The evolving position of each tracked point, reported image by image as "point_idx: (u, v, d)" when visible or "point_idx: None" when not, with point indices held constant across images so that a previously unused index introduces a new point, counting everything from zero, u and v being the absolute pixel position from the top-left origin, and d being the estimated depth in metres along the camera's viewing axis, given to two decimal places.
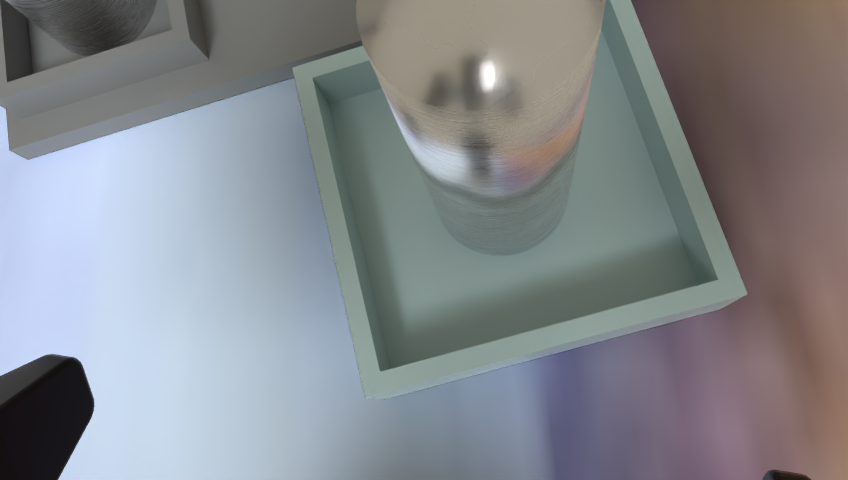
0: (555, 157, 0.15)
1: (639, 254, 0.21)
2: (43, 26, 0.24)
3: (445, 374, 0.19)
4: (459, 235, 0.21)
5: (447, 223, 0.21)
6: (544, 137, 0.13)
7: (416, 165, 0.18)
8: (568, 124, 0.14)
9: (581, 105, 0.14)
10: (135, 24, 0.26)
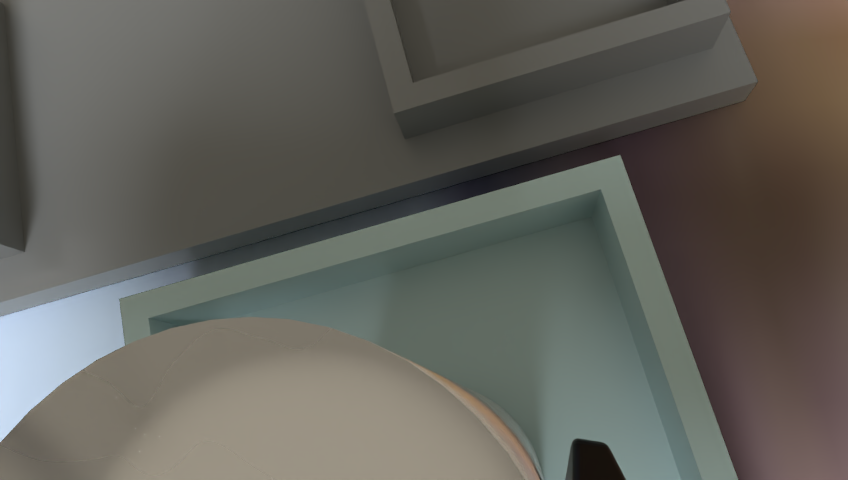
0: None
1: None
2: None
3: None
4: None
5: None
6: None
7: None
8: None
9: None
10: None
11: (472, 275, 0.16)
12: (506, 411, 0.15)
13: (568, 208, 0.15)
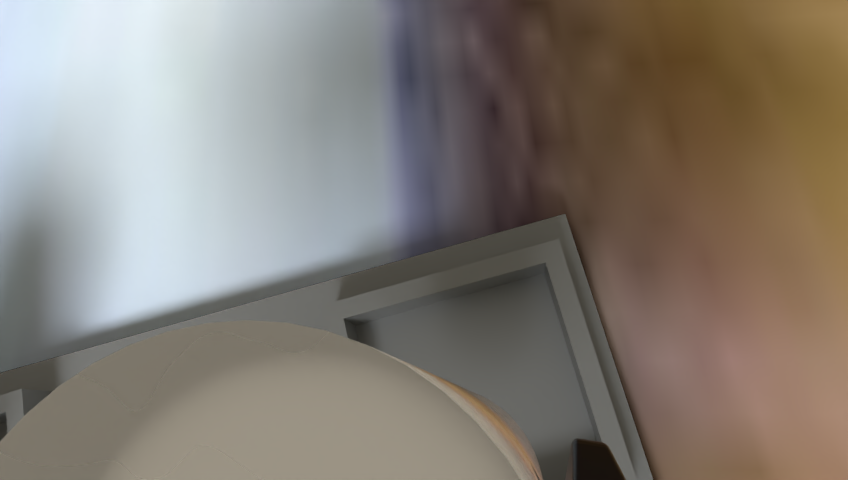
0: None
1: None
2: None
3: None
4: None
5: None
6: None
7: None
8: None
9: None
10: None
11: None
12: None
13: None
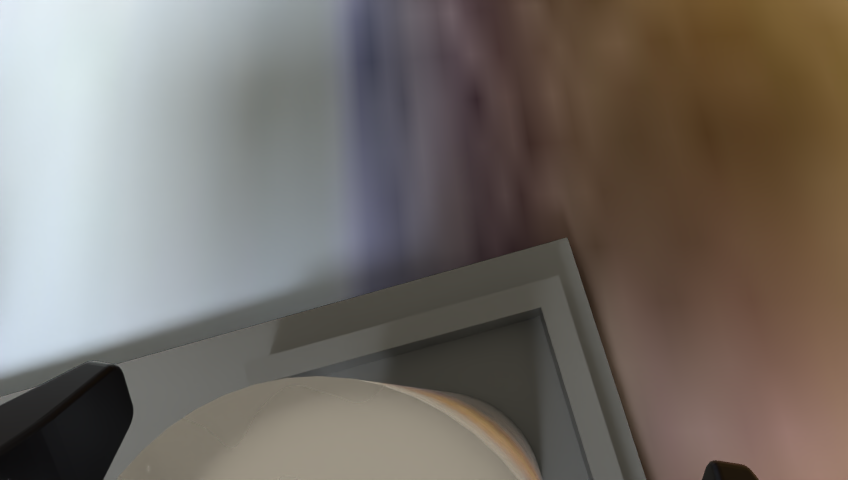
0: None
1: None
2: None
3: None
4: None
5: None
6: None
7: None
8: None
9: None
10: None
11: None
12: None
13: None
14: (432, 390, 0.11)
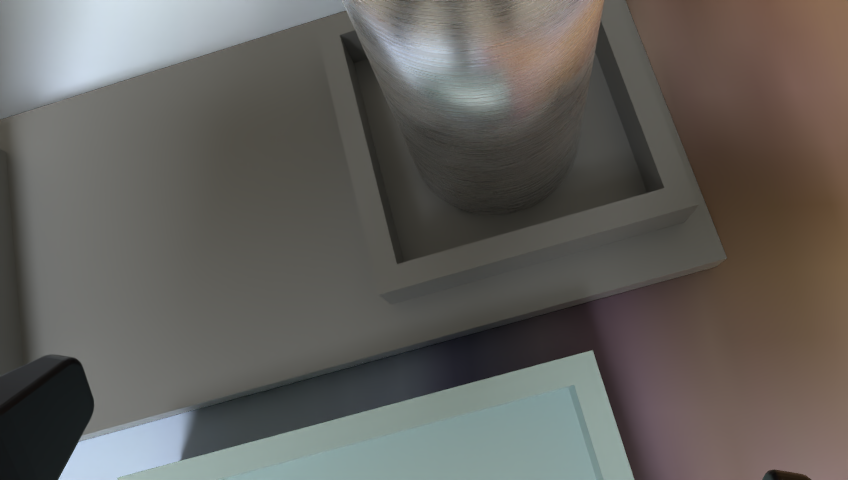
0: (565, 45, 0.11)
1: None
2: None
3: None
4: (440, 187, 0.17)
5: (425, 170, 0.16)
6: None
7: (377, 79, 0.13)
8: None
9: None
10: None
11: (454, 443, 0.17)
12: None
13: (544, 393, 0.15)
14: None
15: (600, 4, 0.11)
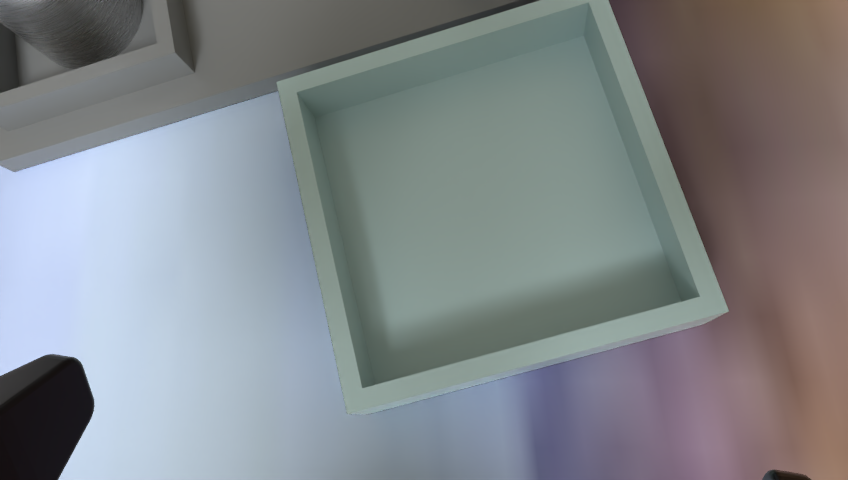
0: None
1: (623, 269, 0.21)
2: (28, 40, 0.24)
3: (427, 391, 0.19)
4: None
5: None
6: None
7: None
8: None
9: None
10: (121, 36, 0.26)
11: (504, 75, 0.24)
12: None
13: (568, 21, 0.23)
14: None
15: None
